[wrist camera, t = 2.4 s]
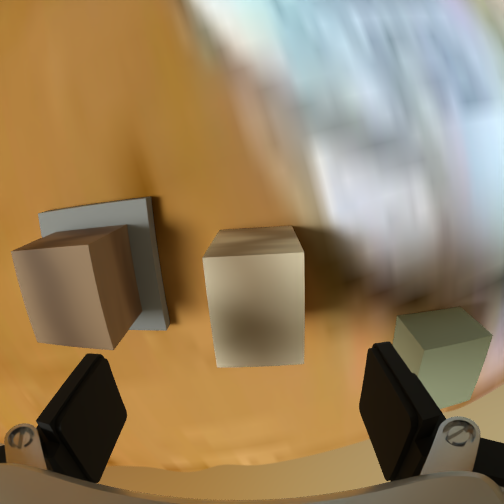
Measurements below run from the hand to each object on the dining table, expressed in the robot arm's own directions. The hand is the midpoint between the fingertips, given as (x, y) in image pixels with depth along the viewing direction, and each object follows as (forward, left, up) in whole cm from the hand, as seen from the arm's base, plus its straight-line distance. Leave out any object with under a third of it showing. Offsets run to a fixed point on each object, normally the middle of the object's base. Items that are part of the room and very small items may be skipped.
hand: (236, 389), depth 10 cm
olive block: (-14, +7, -11) cm, 19 cm away
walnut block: (+10, -1, -10) cm, 14 cm away
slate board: (+10, -1, -11) cm, 15 cm away
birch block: (-1, 0, -11) cm, 11 cm away
